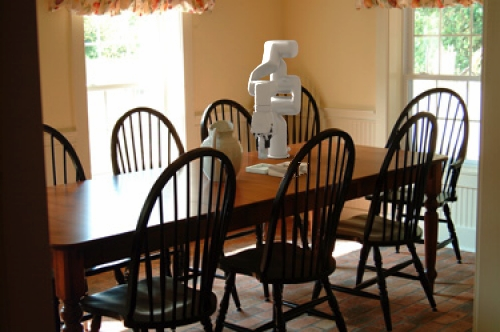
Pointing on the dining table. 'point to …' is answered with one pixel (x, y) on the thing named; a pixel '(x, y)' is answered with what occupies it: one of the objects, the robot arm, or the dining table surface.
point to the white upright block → (262, 147)
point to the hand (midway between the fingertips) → (263, 147)
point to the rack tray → (259, 168)
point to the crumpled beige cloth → (282, 167)
